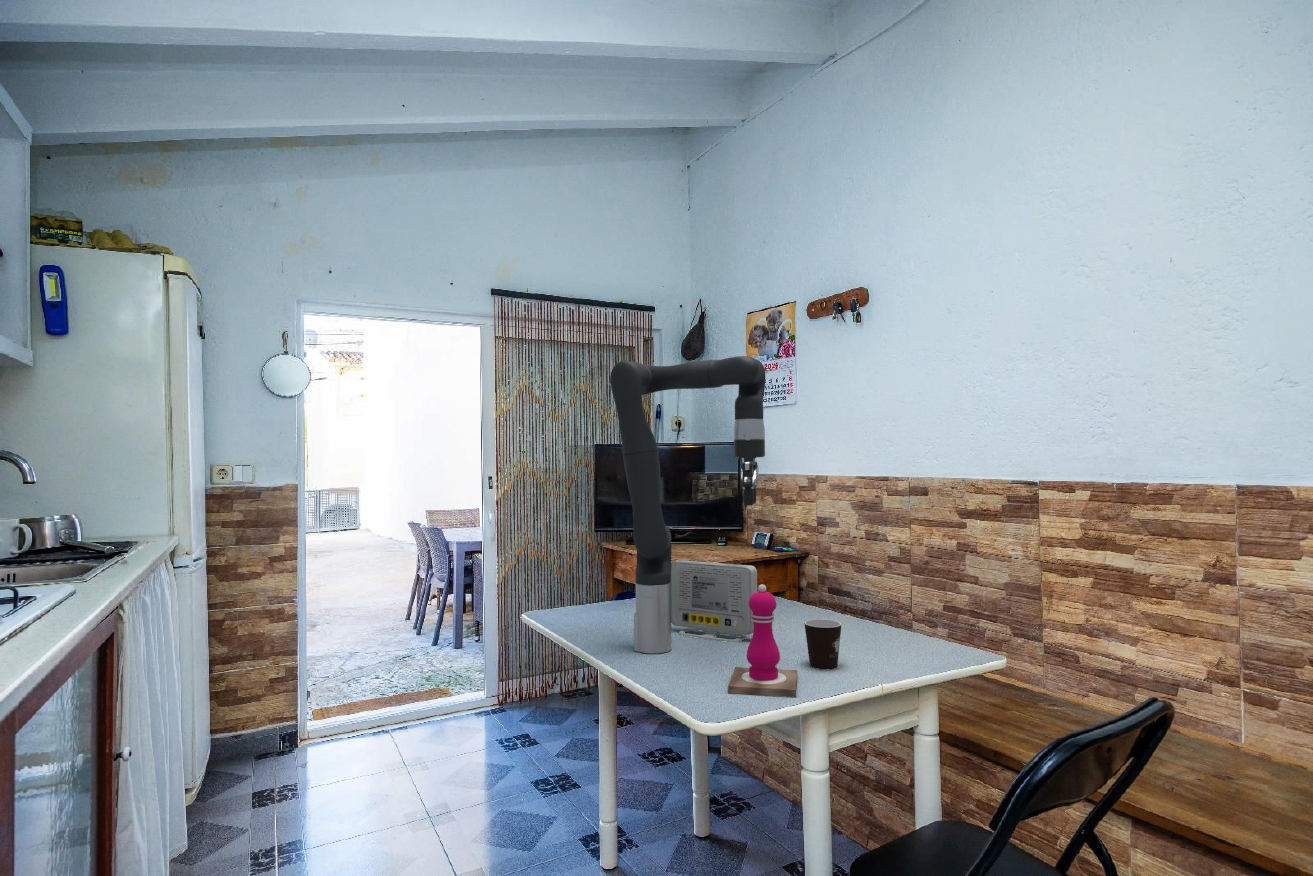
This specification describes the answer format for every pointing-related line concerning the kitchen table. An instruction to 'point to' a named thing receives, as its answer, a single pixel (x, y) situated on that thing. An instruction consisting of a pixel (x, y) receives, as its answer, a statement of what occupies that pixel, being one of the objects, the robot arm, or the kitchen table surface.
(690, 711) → the kitchen table surface
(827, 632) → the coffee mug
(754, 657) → the pepper mill
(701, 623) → the network device
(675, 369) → the robot arm
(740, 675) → the walnut board
